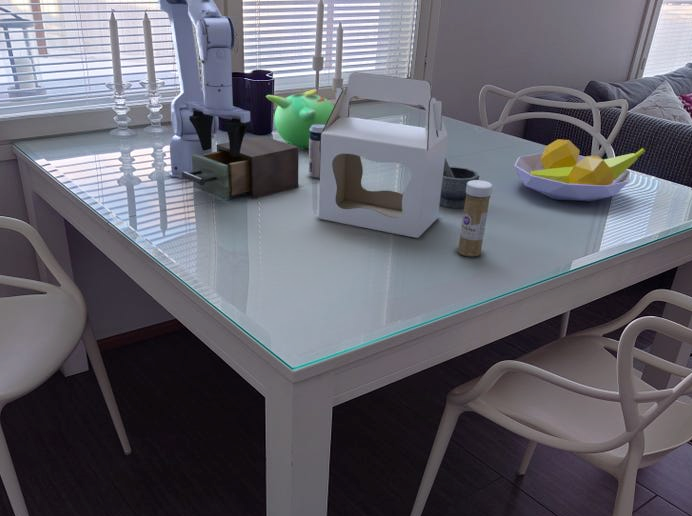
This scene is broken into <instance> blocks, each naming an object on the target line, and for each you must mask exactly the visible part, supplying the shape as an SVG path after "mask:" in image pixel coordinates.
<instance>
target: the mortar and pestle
mask: <svg viewBox="0 0 692 516" xmlns="http://www.w3.org/2000/svg"><path fill="white" fill-rule="evenodd" d="M472 180H480V175H479V173H478V171H475V170H473V169H470V168H467V167H461V166H460V167H459V166H450V164H449V163H448V160H447V159H446V157H445V163H444V171H443V179H442V187H441V195H440V203H439V205H440V206H443V207H445V208H451V209H458V208H459V209H460V208H461V209H463V208H464V207H465V201H466V187H467V183H468V182H469V181H472Z"/></svg>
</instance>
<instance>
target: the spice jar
mask: <svg viewBox="0 0 692 516" xmlns="http://www.w3.org/2000/svg"><path fill="white" fill-rule="evenodd" d="M324 127H325V124H313V125H312V126H311V128H310V130H309V148H308V176H310V177H311V178H313V179H318V180H320V161H321V133H322V131H323V129H324Z"/></svg>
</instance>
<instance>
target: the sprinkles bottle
mask: <svg viewBox="0 0 692 516" xmlns="http://www.w3.org/2000/svg"><path fill="white" fill-rule="evenodd" d="M492 192H493V184H492V183H491V182H489V181H486V180H482V179H481V180H480V179H479V180H472V181H469V182H468V183H467V187H466V201H465V206H464V207H463V214H462V219H461V225H460V231H459V239H458V240H459V241H458V247H457V248H456V249H457V252H458V253H459V254H460V255H462V256H464V257H469V258H473V257H474V258H475V257H478V256H480V255H481V254H482V246H483V241H484V236H485V231H486V224H487V218H488V210H489V203H490V198H491V196H492Z"/></svg>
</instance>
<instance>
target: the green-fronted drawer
mask: <svg viewBox="0 0 692 516" xmlns="http://www.w3.org/2000/svg"><path fill="white" fill-rule="evenodd" d="M192 168H193V172H190V173H188V172H186V171H184V172H183V173H182V177H183V178H182V179H184V180H187V181H189V182H192V183H193V188H195V189H197V190H199V191H202V192H203V193H207V194H209V195H212V196H214V197H216V198H218V199H220V200H223V201H228V200H230V196H236V195H237V196H238V195H242V194H241V193H245V192H249V191H251V183H250V160H249V159H246V158H243V157H240V156H235V157H231V154H230V153H229V152H226V151H223V150H222V151H217V150H216V151H212V153H207V154H203V156H201V155H198V154H192Z"/></svg>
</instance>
